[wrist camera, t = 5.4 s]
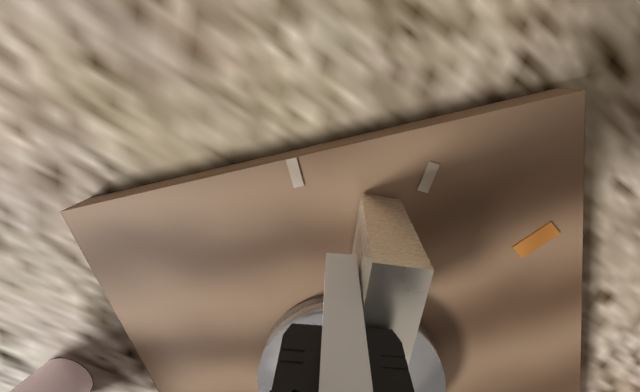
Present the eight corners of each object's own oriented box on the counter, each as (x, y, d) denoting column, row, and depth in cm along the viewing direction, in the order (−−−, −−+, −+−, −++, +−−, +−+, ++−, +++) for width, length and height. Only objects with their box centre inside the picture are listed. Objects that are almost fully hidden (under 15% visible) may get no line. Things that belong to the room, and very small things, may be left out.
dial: (274, 182, 15) (233, 244, 10) (488, 209, 15) (576, 289, 9) (259, 413, 21) (227, 540, 15) (416, 436, 20) (445, 574, 15)
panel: (88, 198, 19) (58, 212, 17) (555, 88, 15) (587, 90, 13) (214, 444, 25) (203, 475, 23) (558, 409, 22) (580, 442, 20)
